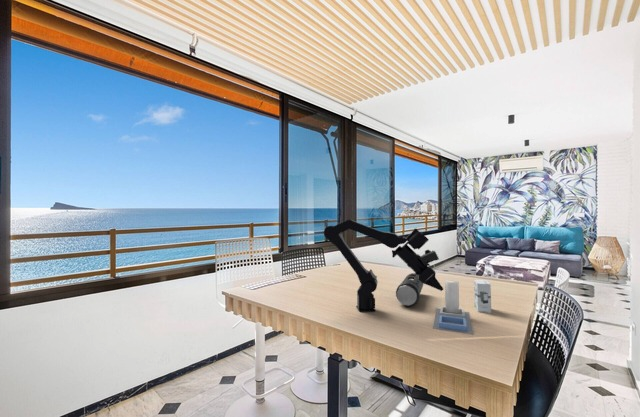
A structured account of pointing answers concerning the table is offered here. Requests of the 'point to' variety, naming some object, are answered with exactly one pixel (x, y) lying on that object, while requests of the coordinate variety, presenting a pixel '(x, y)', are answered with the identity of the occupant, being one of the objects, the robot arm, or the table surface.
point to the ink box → (482, 296)
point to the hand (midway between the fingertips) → (440, 287)
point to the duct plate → (453, 321)
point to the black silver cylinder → (409, 290)
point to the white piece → (452, 297)
